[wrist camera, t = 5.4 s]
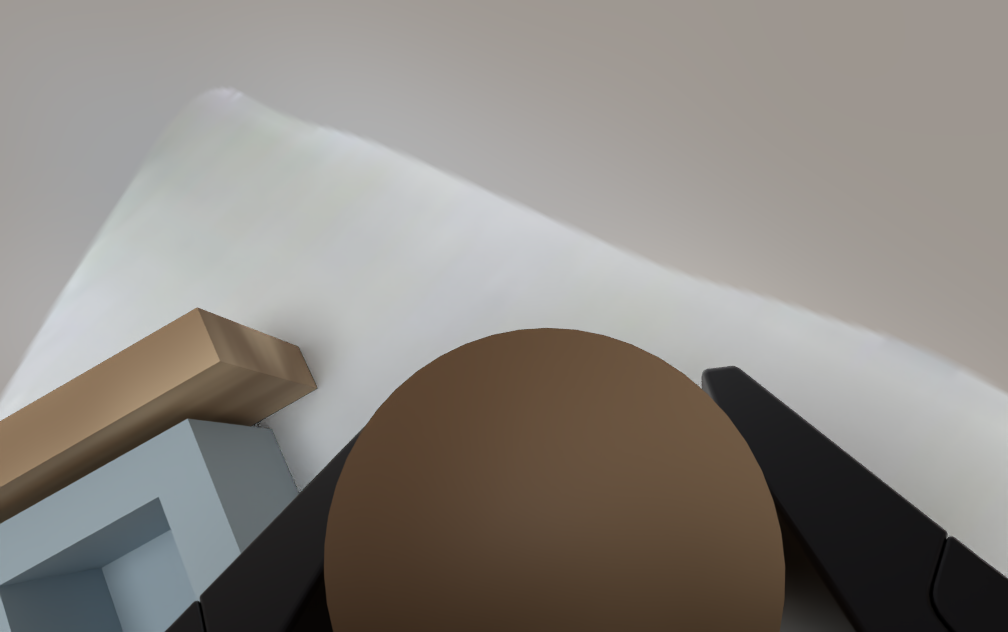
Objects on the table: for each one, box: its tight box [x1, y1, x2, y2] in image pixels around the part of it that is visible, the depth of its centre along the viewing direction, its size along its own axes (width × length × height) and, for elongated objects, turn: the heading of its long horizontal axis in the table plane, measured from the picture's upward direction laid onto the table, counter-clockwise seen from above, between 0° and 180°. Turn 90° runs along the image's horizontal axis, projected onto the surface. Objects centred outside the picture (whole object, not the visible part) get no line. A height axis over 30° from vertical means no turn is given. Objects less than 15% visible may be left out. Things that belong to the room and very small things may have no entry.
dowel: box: [324, 328, 785, 632], centre depth 11 cm, size 4×4×10 cm
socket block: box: [0, 419, 299, 632], centre depth 21 cm, size 8×8×5 cm
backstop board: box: [0, 308, 317, 524], centre depth 22 cm, size 2×12×6 cm, turn 118°
